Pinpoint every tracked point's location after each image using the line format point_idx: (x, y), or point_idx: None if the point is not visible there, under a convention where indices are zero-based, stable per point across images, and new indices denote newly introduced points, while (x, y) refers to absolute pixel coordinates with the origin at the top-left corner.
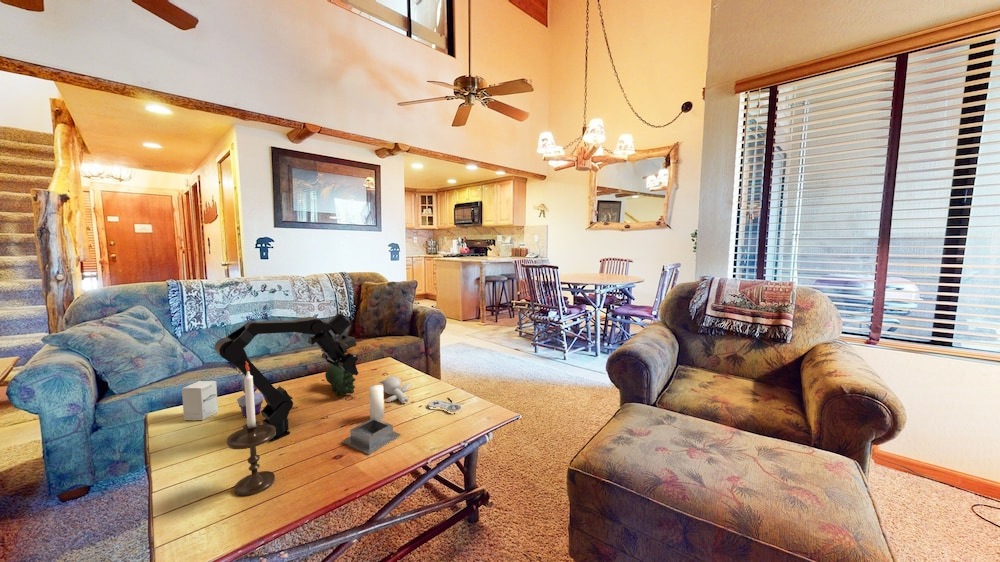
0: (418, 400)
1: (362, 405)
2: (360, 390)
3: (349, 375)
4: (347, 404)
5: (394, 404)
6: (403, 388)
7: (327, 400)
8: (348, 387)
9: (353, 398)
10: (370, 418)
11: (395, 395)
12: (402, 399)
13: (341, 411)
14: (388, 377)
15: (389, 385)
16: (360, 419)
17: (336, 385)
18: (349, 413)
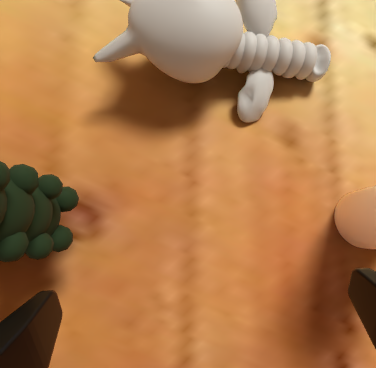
0: (319, 21)
1: (200, 209)
2: (32, 142)
3: (31, 217)
4: (138, 256)
5: (288, 106)
6: (265, 15)
7: None
8: (58, 223)
9: (94, 206)
10: (366, 248)
11: (262, 70)
12: (314, 68)
13: (192, 309)
14: (150, 6)
15: (220, 50)
16: (330, 279)
17: None
18: (239, 290)
